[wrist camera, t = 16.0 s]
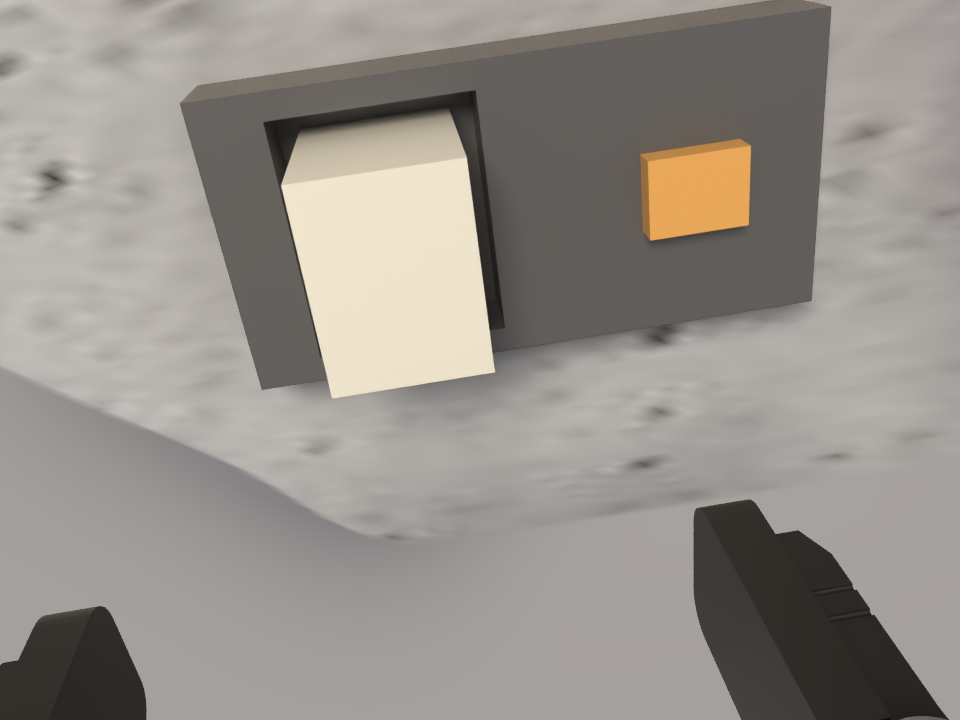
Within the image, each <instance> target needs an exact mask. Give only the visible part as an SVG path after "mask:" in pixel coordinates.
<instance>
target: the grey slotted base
mask: <svg viewBox="0 0 960 720" xmlns="http://www.w3.org/2000/svg"><path fill="white" fill-rule="evenodd" d="M830 19H831V6H827V5H822V4H818V3H813V2H809V1H804V0H772V1H765V2H759V3H752V4H745V5H739V6H732V7H725V8H718V9H712V10H705V11H698V12H691V13H685V14H678V15H671V16H664V17H658V18H651V19H644V20H637V21H631V22H624V23H617V24H611V25H604V26H597V27H590V28H584V29H577V30H570V31H563V32H557V33H550V34H543V35H536V36H530V37H523V38H516V39H509V40H503V41H496V42H489V43H483V44H476V45H469V46H462V47H456V48H449V49H442V50H435V51H429V52H422V53H415V54H408V55H402V56H395V57H388V58H381V59H375V60H368V61H361V62H355V63H348V64H341V65H334V66H328V67H321V68H314V69H307V70H301V71H294V72H287V73H280V74H274V75H267V76H260V77H253V78H247V79H240V80H233V81H227V82H220V83H213V84H206V85H200V86H197V87H196V88H195V89H194V90H193V91H192V92H191V93H190V94H189V95H188V96H187V97H186V98H185V99H184V100H183V101H182V102H181V103H180V106H181V110H182V113H183V117H184V120H185V124H186V127H187V131H188V134H189V138H190V141H191V145H192V148H193V151H194V155H195V158H196V162H197V165H198V169H199V172H200V176H201V179H202V183H203V186H204V190H205V193H206V197H207V200H208V204H209V207H210V211H211V214H212V218H213V221H214V225H215V228H216V232H217V235H218V239H219V242H220V246H221V249H222V253H223V256H224V260H225V263H226V266H227V270H228V273H229V277H230V280H231V284H232V287H233V291H234V294H235V298H236V301H237V305H238V308H239V312H240V315H241V319H242V322H243V326H244V329H245V333H246V336H247V340H248V343H249V347H250V350H251V354H252V357H253V361H254V364H255V368H256V371H257V375H258V378H259V381H260V385H261V388H262V390H265V389H271V388H277V387H283V386H289V385H296V384H302V383H308V382H314V381H320V380H326V379H327V375H326V370H325V366H324V362H323V358H322V354H321V350H320V345H319V341H318V337H317V333H316V329H315V325H314V321H313V316H312V312H311V308H310V304H309V300H308V296H307V291H306V287H305V283H304V279H303V275H302V271H301V266H300V262H299V258H298V254H297V250H296V246H295V241H294V237H293V233H292V229H291V225H290V221H289V216H288V212H287V208H286V204H285V200H284V196H283V191H282V187H281V184H282V181H283V178H284V175H285V172H286V170H287V167H288V164H289V161H290V158H291V155H292V152H293V149H294V146H295V143H296V140H297V137H298V134H299V131H300V129H301V128H307V127H314V126H321V125H328V124H334V123H341V122H348V121H354V120H361V119H368V118H375V117H381V116H388V115H395V114H401V113H408V112H415V111H422V110H428V109H435V108H442V107H448V108H449V110H450V113H451V116H452V118H453V121H454V124H455V127H456V129H457V132H458V135H459V138H460V140H461V143H462V146H463V149H464V151H465V154H466V157H467V163H468V171H469V178H470V186H471V194H472V201H473V209H474V216H475V224H476V232H477V239H478V247H479V255H480V262H481V270H482V277H483V285H484V293H485V300H486V308H487V316H488V323H489V331H490V338H491V346H492V353H493V352H500V351H506V350H512V349H518V348H524V347H530V346H537V345H543V344H549V343H555V342H561V341H567V340H574V339H580V338H586V337H592V336H598V335H605V334H611V333H617V332H623V331H629V330H635V329H642V328H648V327H654V326H660V325H666V324H673V323H679V322H685V321H691V320H697V319H703V318H710V317H716V316H722V315H728V314H734V313H741V312H747V311H753V310H759V309H765V308H771V307H778V306H784V305H790V304H796V303H802V302H809V301H811V300H812V285H813V271H814V256H815V241H816V226H817V211H818V197H819V182H820V167H821V152H822V137H823V123H824V108H825V93H826V78H827V64H828V49H829V34H830Z"/></svg>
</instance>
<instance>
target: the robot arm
mask: <svg viewBox="0 0 960 720" xmlns="http://www.w3.org/2000/svg"><path fill="white" fill-rule="evenodd" d="M694 598H695V605H696V610H697V615H698V619H699V623H700V626H701V629H702V632H703V635H704V637H705V639H706V642H707V644H708V646H709V648H710V651H711V653H712V655H713V657H714V660H715V662H716V664H717V666H718V668H719V671H720V673H721V675H722V677H723V680H724V682H725V684H726V686H727V689H728V691H729V693H730V695H731V697H732V700H733V702H734V704H735V706H736V709H737V711H738V713H739V715H740V718H741V720H949V719H948V718H947V717H946V716H945V714H944V713H943V712H942V711H941V710H940V708H939V707H938V705H937V704H936V702H935V701H934V700H933V698H932V697H931V695H930V694H929V692H928V691H927V690H926V688H925V687H924V685H923V684H922V683H921V681H920V680H919V678H918V677H917V675H916V674H915V673H914V671H913V670H912V668H911V667H910V665H909V664H908V663H907V661H906V660H905V658H904V657H903V655H902V654H901V653H900V651H899V650H898V648H897V647H896V645H895V644H894V643H893V641H892V640H891V638H890V637H889V635H888V634H887V633H886V631H885V630H884V628H883V627H882V625H881V624H880V622H879V621H878V620H877V618H876V617H875V615H871V613H870V608H869V607H868V606H867V604H866V603H865V601H864V600H863V598H862V597H861V595H860V594H859V592H858V591H857V590H854V589H853V586H852V583H851V581H850V580H849V578H848V577H847V575H846V574H845V572H844V571H843V570H842V568H841V567H840V566H839V564H838V562H837V561H836V560H835V558H834V557H833V555H832V554H831V553H830V552H828V551H827V550H825V549H824V548H822V547H821V546H820V545H818V544H817V543H815V542H814V541H812V540H811V539H810V538H808V537H806V536H805V535H804V534H802V533H801V532H800V531H792V532H786V533H780V534H775V533H774V531H773V530H772V528H771V527H770V525H769V523H768V522H767V520H766V519H765V517H764V515H763V514H762V512H761V511H760V509H759V508H758V506H757V505H756V504H755V503H754V502H753V501H752V500H743V501H736V502H731V503H725V504H719V505H713V506H707V507H701V508H697V509H696V510H695V514H694ZM0 720H146V698H145V692H144V688H143V684H142V682H141V679H140V677H139V675H138V673H137V670H136V668H135V666H134V664H133V662H132V659H131V657H130V655H129V653H128V650H127V648H126V646H125V644H124V642H123V639H122V637H121V635H120V633H119V631H118V628H117V626H116V624H115V622H114V619H113V618H112V616H111V614H110V612H109V611H108V610H107V609H106V608H105V607H102V606H98V607H92V608H87V609H80V610H75V611H69V612H63V613H57V614H51V615H46V616H43V617H41V618H40V619H39V620H38V621H37V623H36V624H35V626H34V628H33V630H32V632H31V634H30V637H29V639H28V641H27V643H26V645H25V647H24V649H23V651H22V653H21V656H20V658H19V660H18V661H12V662H6V663H2V664H1V665H0Z"/></svg>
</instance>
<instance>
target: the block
mask: <svg viewBox="0 0 960 720" xmlns="http://www.w3.org/2000/svg"><path fill="white" fill-rule="evenodd" d="M281 187H282V191H283V196H284V200H285V204H286V208H287V212H288V216H289V221H290V225H291V229H292V233H293V237H294V241H295V246H296V250H297V254H298V258H299V262H300V266H301V271H302V275H303V279H304V283H305V287H306V291H307V296H308V300H309V304H310V308H311V312H312V316H313V321H314V325H315V329H316V333H317V337H318V341H319V345H320V350H321V354H322V358H323V362H324V366H325V370H326V375H327V379H328V383H329V387H330V391H331V395H332V398H339V397H345V396H351V395H357V394H364V393H370V392H376V391H382V390H388V389H395V388H401V387H407V386H413V385H419V384H426V383H432V382H438V381H444V380H450V379H457V378H463V377H469V376H475V375H482V374H488V373H494V372H495V369H494V361H493V354H492V346H491V338H490V331H489V323H488V316H487V308H486V300H485V293H484V285H483V277H482V270H481V262H480V255H479V247H478V239H477V232H476V224H475V216H474V209H473V201H472V194H471V186H470V178H469V171H468V163H467V157H466V154H465V151H464V149H463V146H462V143H461V140H460V138H459V135H458V132H457V129H456V127H455V124H454V121H453V118H452V116H451V113H450V110H449V108H448V107H442V108H435V109H428V110H422V111H415V112H408V113H401V114H395V115H388V116H381V117H375V118H368V119H361V120H354V121H348V122H341V123H334V124H328V125H321V126H314V127H307V128H301V129H300V131H299V134H298V137H297V140H296V143H295V146H294V149H293V152H292V155H291V158H290V161H289V164H288V167H287V170H286V172H285V175H284V178H283V181H282V184H281Z"/></svg>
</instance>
